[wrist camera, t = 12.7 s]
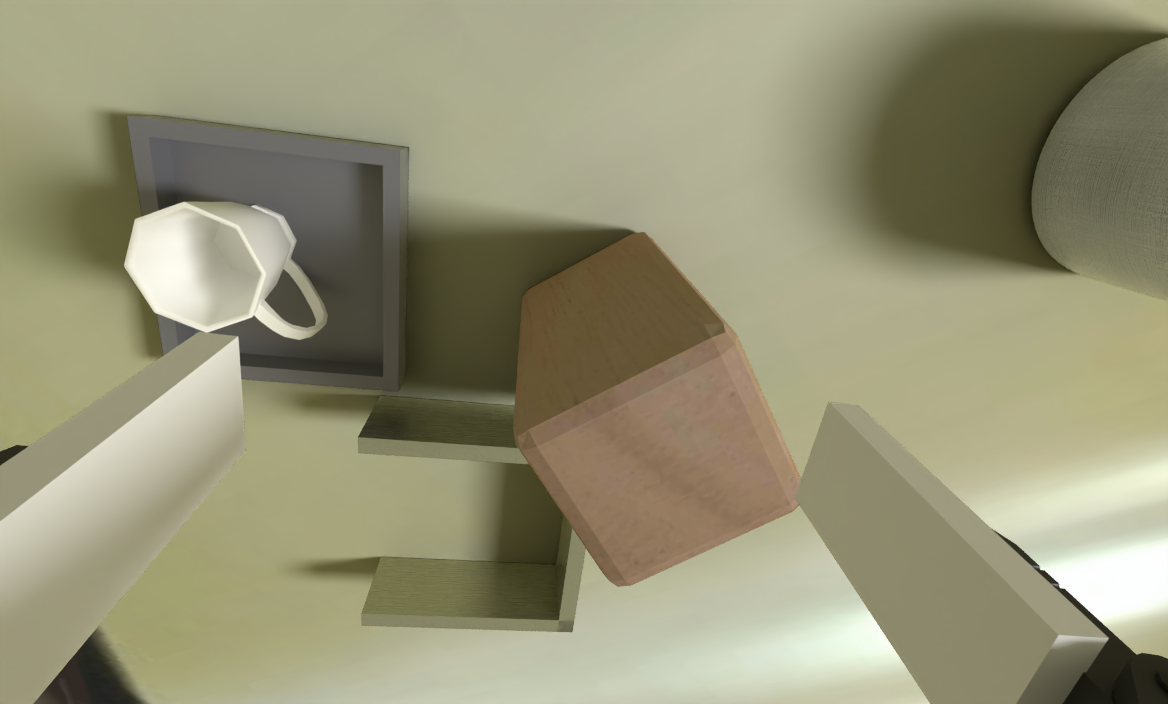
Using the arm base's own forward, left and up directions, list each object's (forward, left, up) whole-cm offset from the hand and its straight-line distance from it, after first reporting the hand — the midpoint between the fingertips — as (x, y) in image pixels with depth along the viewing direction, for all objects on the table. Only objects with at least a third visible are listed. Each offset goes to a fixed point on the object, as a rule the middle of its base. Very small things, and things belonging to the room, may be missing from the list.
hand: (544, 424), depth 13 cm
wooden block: (+7, +6, -29) cm, 30 cm away
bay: (+23, -2, -28) cm, 36 cm away
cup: (+5, -17, -28) cm, 33 cm away
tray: (+5, -16, -28) cm, 33 cm away
